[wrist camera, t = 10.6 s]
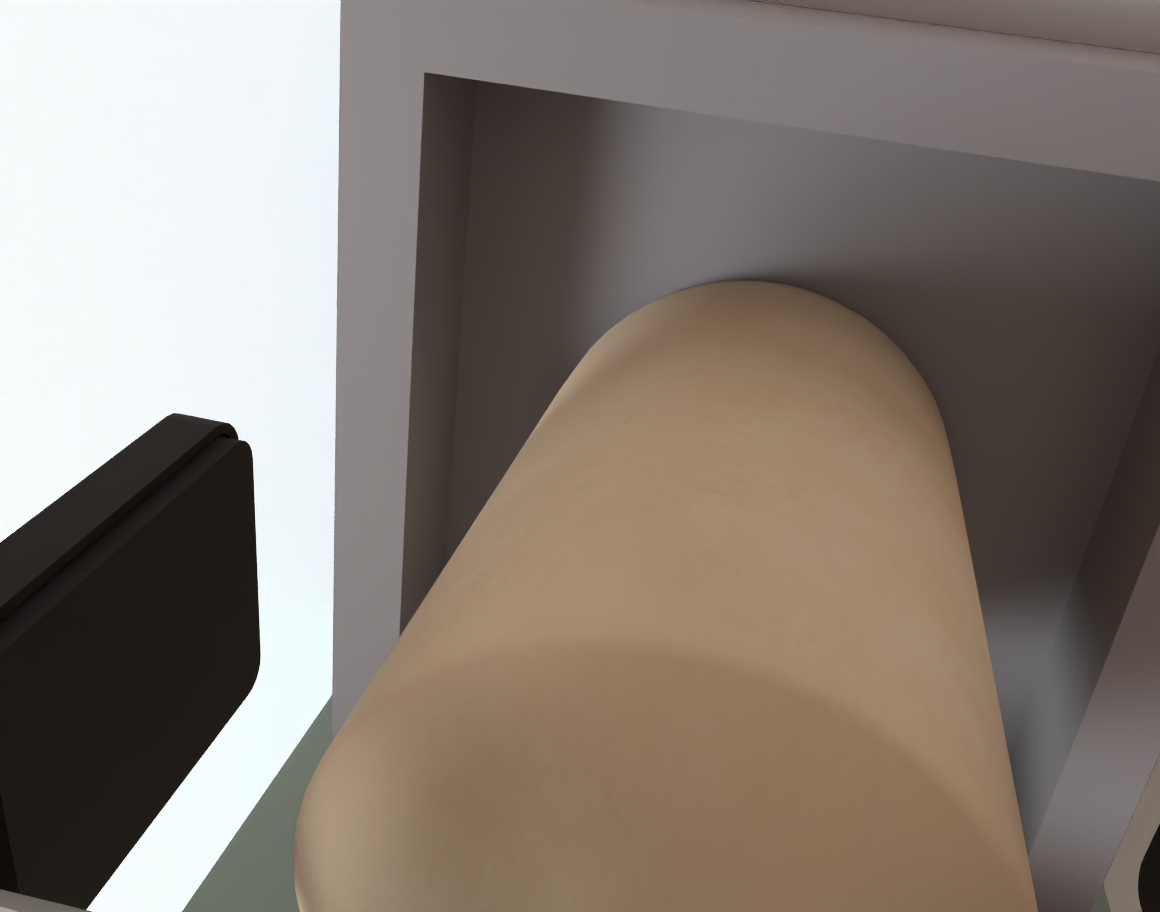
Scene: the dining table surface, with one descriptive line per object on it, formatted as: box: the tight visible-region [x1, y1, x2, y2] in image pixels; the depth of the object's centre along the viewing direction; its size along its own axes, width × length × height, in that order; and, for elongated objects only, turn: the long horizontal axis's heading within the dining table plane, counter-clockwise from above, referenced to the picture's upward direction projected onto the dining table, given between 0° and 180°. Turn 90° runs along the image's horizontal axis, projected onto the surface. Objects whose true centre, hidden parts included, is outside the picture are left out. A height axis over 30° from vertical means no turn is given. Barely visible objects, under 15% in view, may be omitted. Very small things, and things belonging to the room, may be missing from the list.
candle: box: [293, 280, 1038, 912], centre depth 11 cm, size 6×6×10 cm
